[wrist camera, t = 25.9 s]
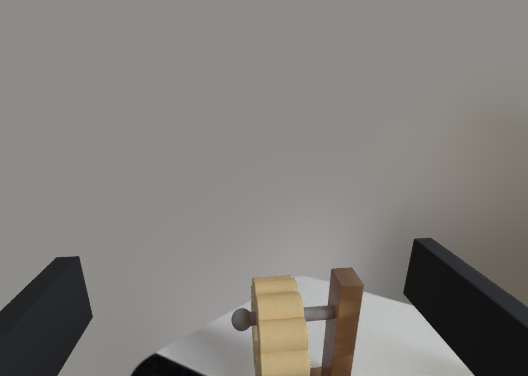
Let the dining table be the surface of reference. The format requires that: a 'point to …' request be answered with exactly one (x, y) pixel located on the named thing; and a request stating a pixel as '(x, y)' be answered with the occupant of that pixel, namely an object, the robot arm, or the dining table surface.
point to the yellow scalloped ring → (279, 328)
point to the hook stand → (329, 322)
